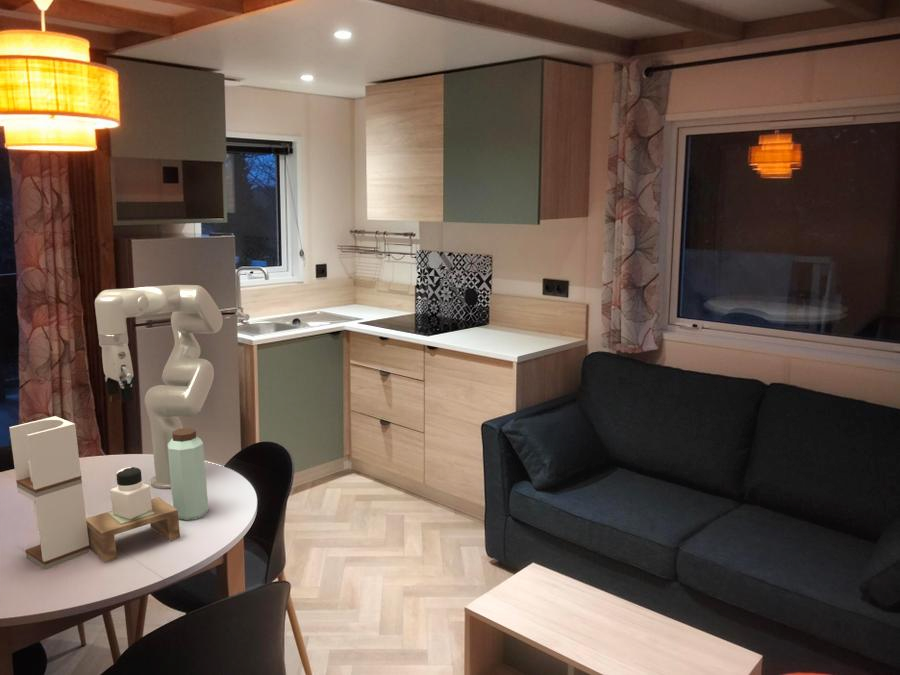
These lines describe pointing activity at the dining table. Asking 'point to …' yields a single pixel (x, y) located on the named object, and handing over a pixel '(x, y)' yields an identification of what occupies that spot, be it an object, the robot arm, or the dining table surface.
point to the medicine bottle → (130, 494)
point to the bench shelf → (130, 527)
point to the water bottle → (187, 474)
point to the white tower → (52, 488)
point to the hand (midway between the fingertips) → (120, 397)
